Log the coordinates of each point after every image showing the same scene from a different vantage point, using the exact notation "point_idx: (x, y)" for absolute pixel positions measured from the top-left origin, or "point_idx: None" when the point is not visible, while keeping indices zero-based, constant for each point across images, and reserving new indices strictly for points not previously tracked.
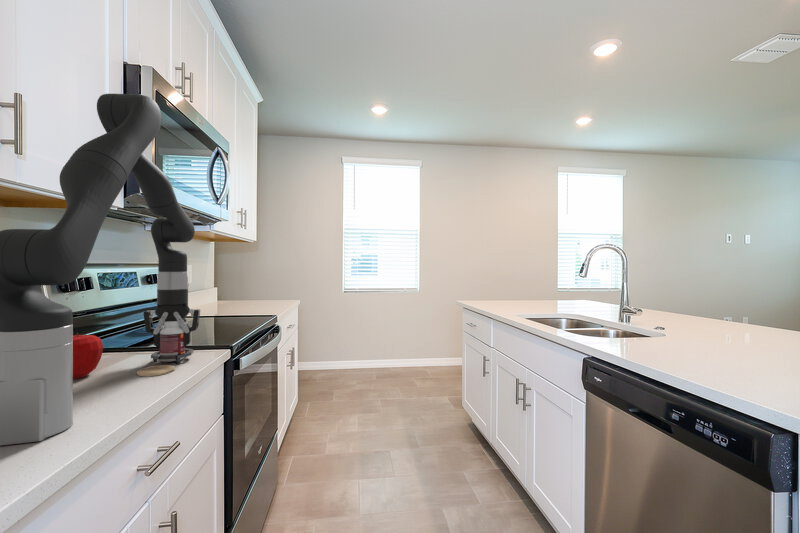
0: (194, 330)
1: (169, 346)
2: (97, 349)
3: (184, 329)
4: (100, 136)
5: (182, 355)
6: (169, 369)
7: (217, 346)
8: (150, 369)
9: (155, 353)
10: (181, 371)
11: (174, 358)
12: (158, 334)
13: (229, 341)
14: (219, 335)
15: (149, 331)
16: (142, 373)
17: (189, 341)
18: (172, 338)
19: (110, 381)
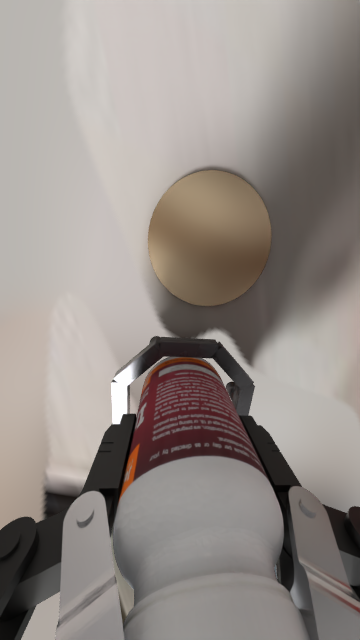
0: (20, 519)
1: (193, 389)
2: None
3: (99, 534)
4: None
5: (138, 356)
6: (161, 221)
7: None
8: (231, 252)
9: (241, 405)
10: (117, 212)
11: (165, 337)
12: (278, 492)
13: None
14: None
15: (354, 517)
16: (251, 194)
17: (103, 437)
18: (182, 426)
19: (340, 160)
